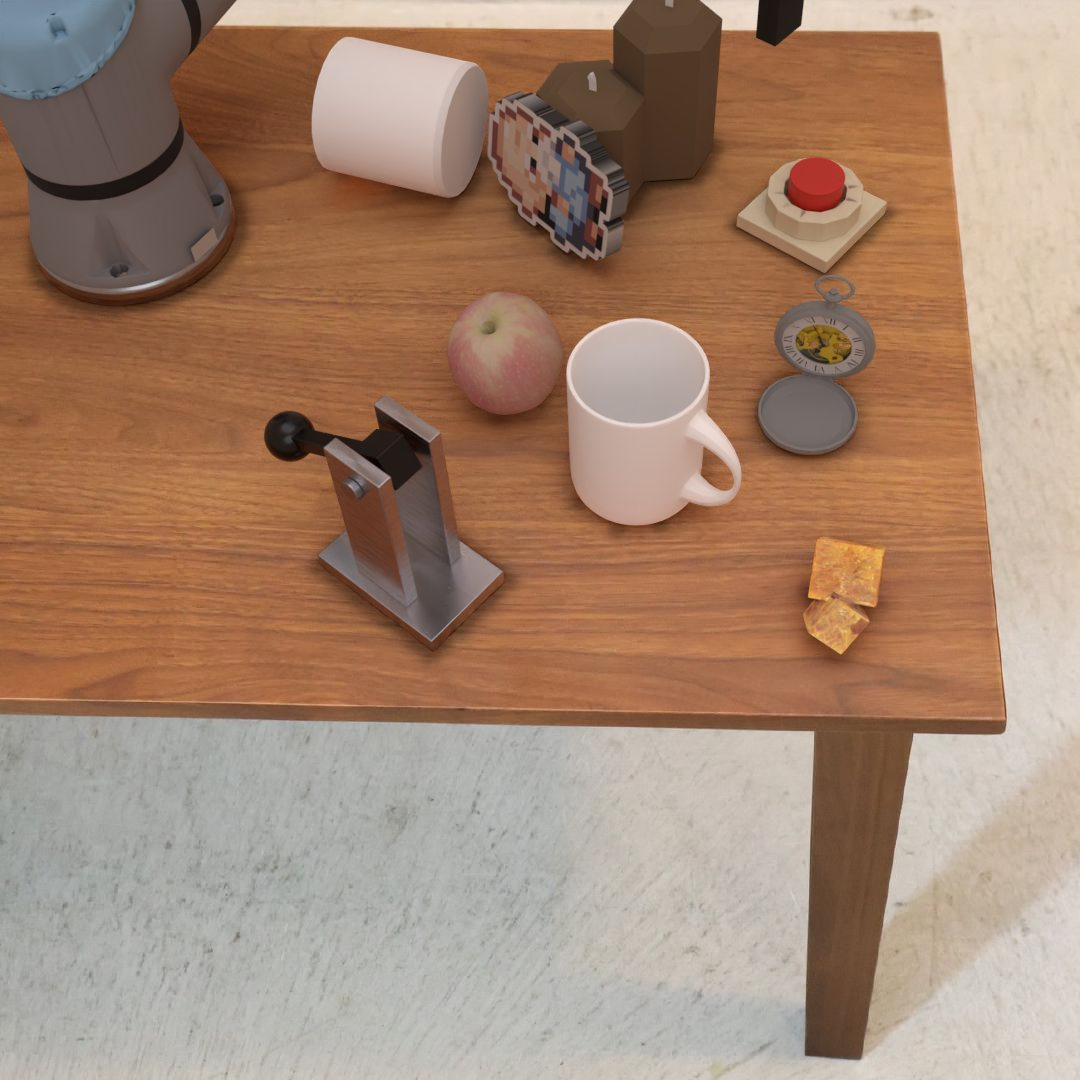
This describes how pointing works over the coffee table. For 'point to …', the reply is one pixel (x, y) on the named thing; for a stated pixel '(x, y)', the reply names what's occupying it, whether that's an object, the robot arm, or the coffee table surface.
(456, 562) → the bracket
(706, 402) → the mug
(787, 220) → the housing
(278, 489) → the coffee table surface
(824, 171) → the button
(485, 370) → the apple
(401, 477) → the lever
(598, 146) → the toy
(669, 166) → the candle
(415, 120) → the white cylinder
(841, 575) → the pyrite
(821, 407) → the pocket watch
